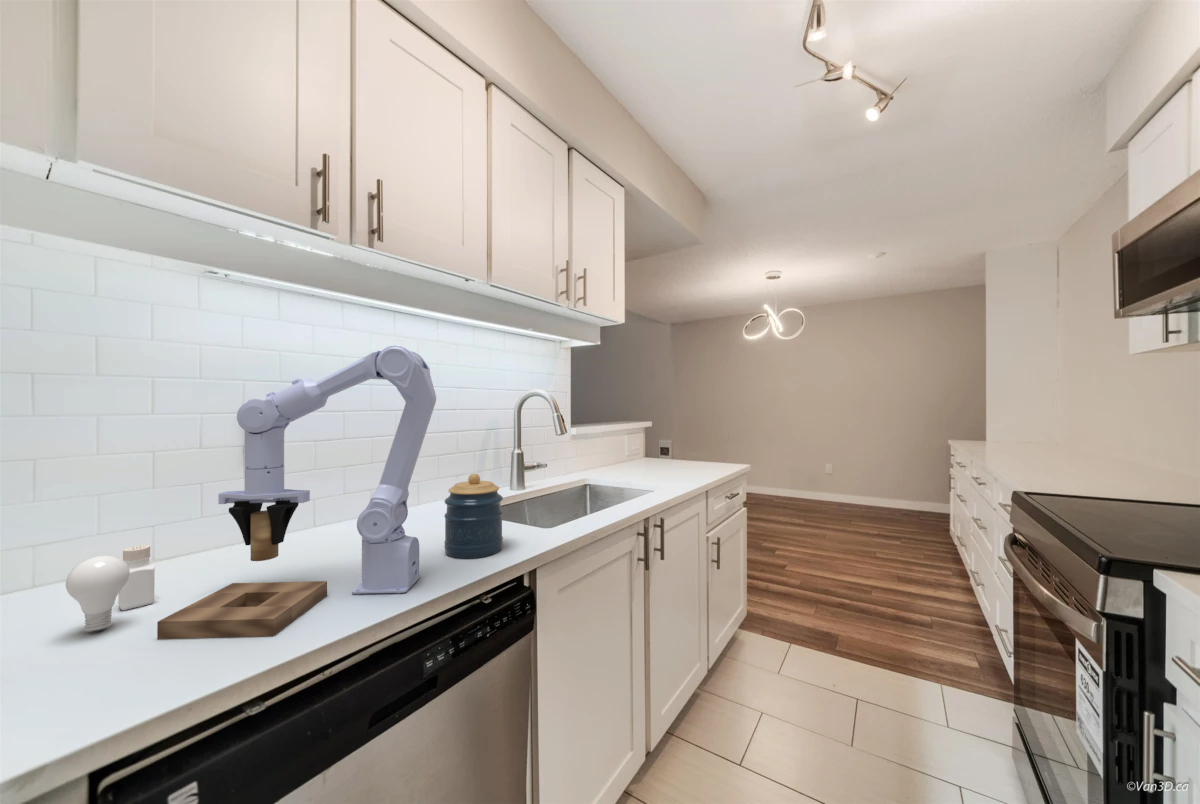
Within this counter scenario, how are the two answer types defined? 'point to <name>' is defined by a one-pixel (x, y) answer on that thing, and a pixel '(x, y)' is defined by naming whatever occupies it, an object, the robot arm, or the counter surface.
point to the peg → (262, 537)
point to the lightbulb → (97, 588)
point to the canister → (473, 519)
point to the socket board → (243, 610)
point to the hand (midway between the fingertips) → (264, 543)
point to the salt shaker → (137, 578)
